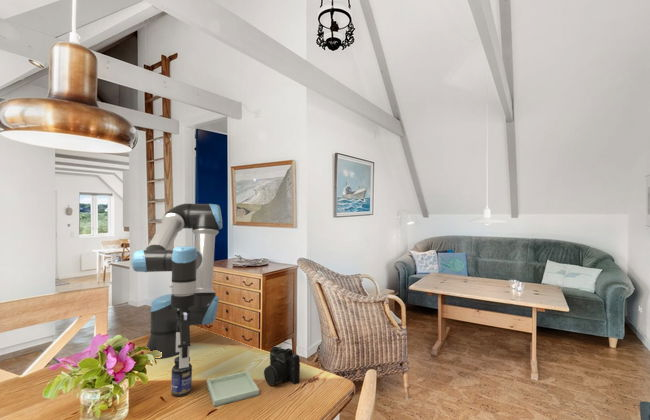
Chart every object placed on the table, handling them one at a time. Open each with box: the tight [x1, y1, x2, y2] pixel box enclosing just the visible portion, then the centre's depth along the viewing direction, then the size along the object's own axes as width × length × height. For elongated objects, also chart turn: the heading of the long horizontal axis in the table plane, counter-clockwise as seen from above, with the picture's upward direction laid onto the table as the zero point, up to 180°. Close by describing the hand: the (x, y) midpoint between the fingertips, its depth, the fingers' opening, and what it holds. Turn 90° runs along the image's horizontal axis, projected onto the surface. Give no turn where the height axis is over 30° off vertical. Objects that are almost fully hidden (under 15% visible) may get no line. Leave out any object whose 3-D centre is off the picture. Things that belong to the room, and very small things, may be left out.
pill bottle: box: [170, 355, 193, 397], centre depth 106 cm, size 6×6×11 cm
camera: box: [263, 346, 301, 386], centre depth 115 cm, size 14×11×10 cm
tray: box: [206, 370, 260, 408], centre depth 108 cm, size 14×14×2 cm
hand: (181, 358), depth 106 cm, fingers open, 13 cm apart
